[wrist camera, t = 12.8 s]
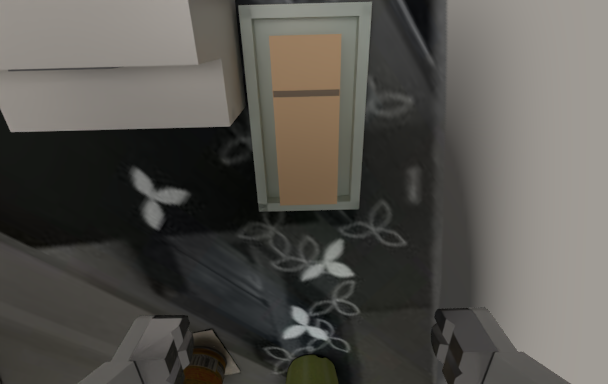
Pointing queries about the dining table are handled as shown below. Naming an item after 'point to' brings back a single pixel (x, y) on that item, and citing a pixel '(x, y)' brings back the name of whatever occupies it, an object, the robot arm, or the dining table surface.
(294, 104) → the brown shipping carton
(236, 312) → the dining table surface
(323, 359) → the plant pot
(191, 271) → the dining table surface
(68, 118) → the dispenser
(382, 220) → the dining table surface
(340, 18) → the tray
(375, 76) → the dining table surface
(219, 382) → the condiment
